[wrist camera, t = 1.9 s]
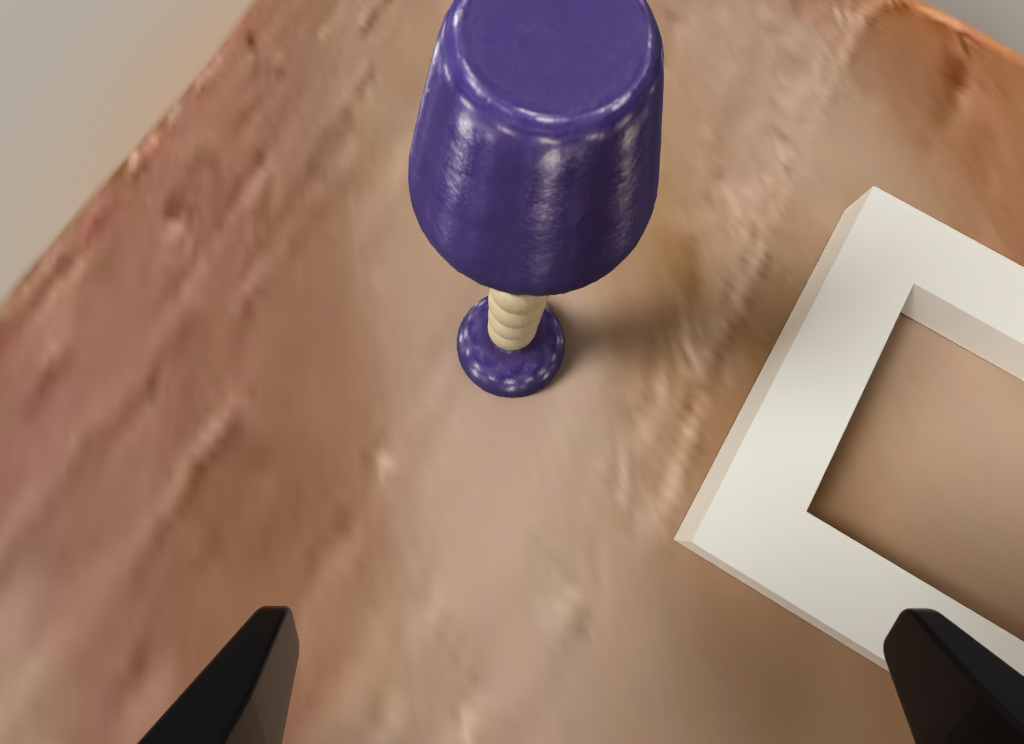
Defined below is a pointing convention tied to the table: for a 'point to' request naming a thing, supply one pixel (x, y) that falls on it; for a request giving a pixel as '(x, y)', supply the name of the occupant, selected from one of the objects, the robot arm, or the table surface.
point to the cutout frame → (827, 410)
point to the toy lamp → (536, 165)
